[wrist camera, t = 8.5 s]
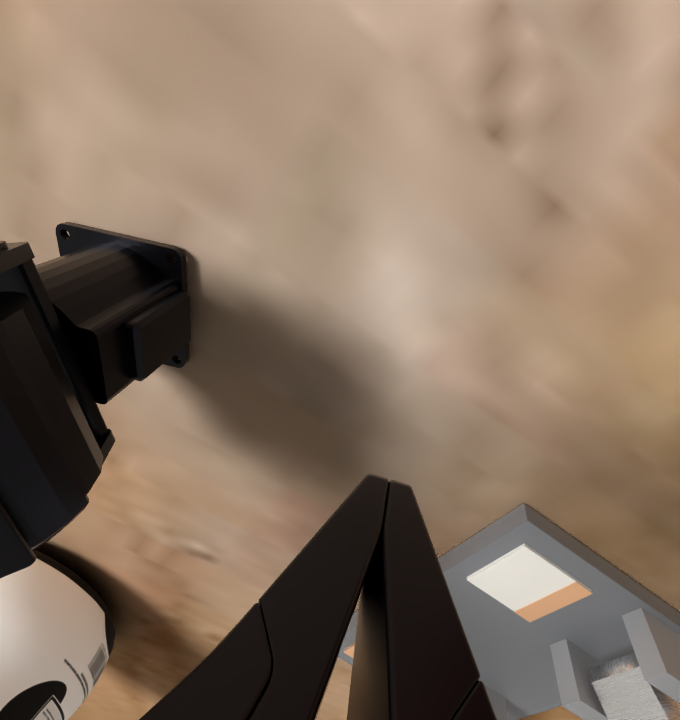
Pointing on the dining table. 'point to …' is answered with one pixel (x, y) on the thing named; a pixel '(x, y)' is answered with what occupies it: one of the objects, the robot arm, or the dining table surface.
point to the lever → (630, 692)
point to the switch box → (550, 618)
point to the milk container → (50, 641)
